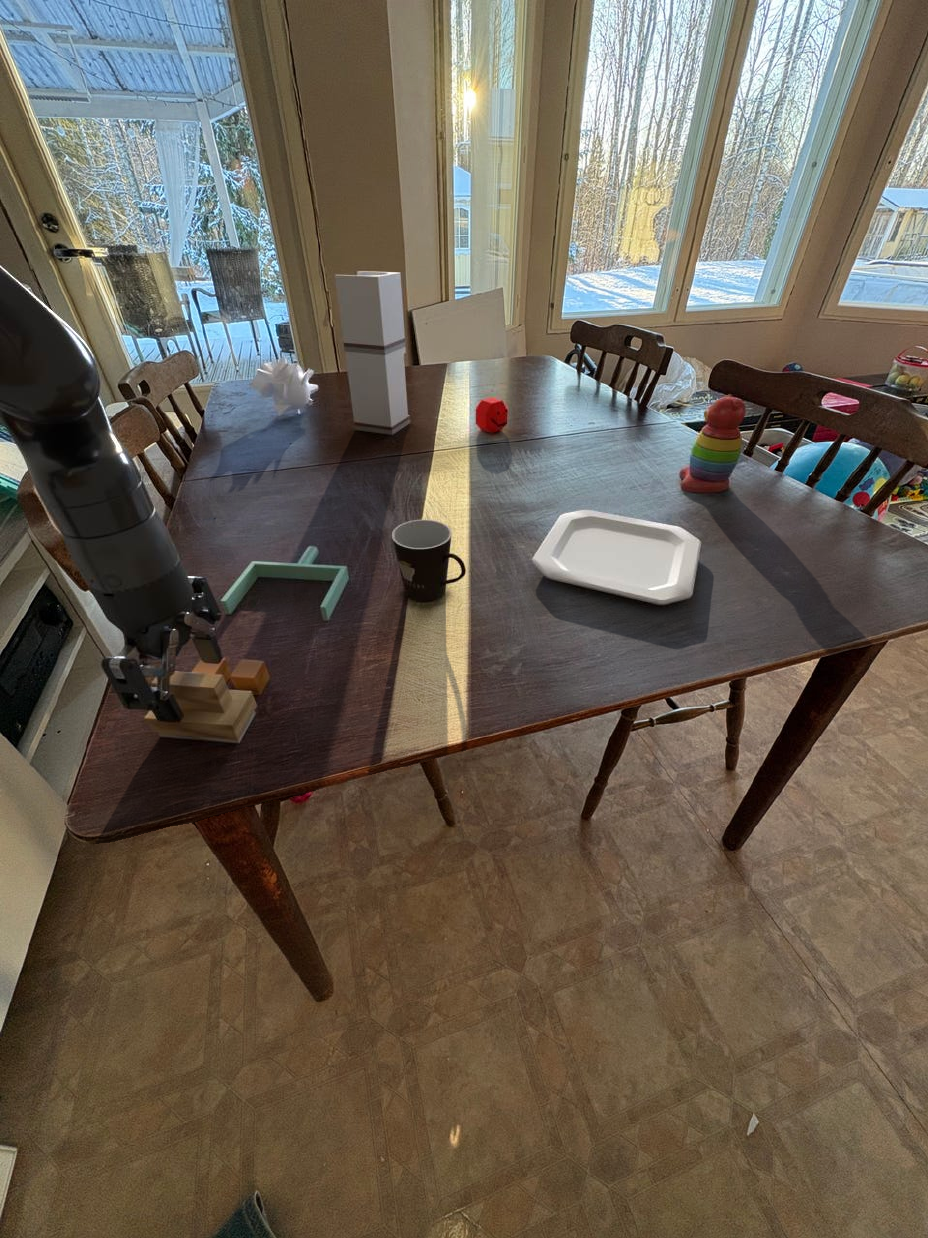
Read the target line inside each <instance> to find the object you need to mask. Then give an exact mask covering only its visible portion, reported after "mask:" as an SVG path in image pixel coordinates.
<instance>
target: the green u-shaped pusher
mask: <svg viewBox="0 0 928 1238" xmlns="http://www.w3.org/2000/svg"><path fill="white" fill-rule="evenodd" d="M319 554H320V553H319V549H318V548H317V547H316V546H314V545H309V546H307V548H306V549H305V551H304V552H303V554H302V555H301V557H300V559H298V562H297V563H293V562H292V563H291V562H277V561H275V562H273V561H255V560H252V561H251V562H250V563H249V564H248V565H247V567H246V568H245V569H244V570H243V572H242V573H241V574H240V576H239V577H238V578H237V579H236V580H235V582H234V583H233V585H231V586H230V588H229V590H228V591H227V592H226V593H225V594H224V596H223V597H222V598H221V599H220V604H221V606H222V609H223V611H224V615H232V613H233V612H234V611H235V609H236V608H237V606H238V605H239V604H240V602H241V601H242V600H243V599H244V597H245V596H246V594H247V593H249V590H250V589H251V588H252V586H253V585H254V584H255V583H256V581H257V580H258V578H273V579H291V580H292V579H293V580H310V581H327V582H329V581H330V582H332V584H331V585H330V588H329V589H328V591H327V593H326V595H325V596H324V598H323V601H322V602H321V605H320V606H319V607H320V613H321V617H322V621H329V620H330V618H331V616H332V614H333V612H334V610H335V608H336V606H337V604H338V602H339V600H340V598H341V596H342V594H343V592H344V589H345V588H346V586H347V583H348V582H349V580H350V579H349V578H350V577H349V573H348V567H347V566H346V565H329V564H314V562H315V560H316V558H317V557H318V555H319Z"/></svg>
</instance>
